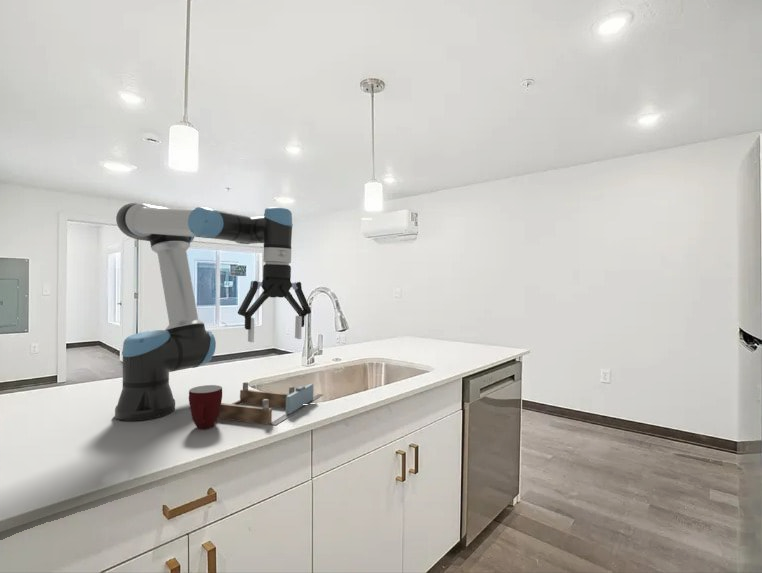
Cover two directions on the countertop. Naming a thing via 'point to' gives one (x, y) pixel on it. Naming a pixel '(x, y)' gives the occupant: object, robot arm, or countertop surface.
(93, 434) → the countertop surface
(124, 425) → the countertop surface
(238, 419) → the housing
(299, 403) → the gate
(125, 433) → the countertop surface
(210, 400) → the mug
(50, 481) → the countertop surface
